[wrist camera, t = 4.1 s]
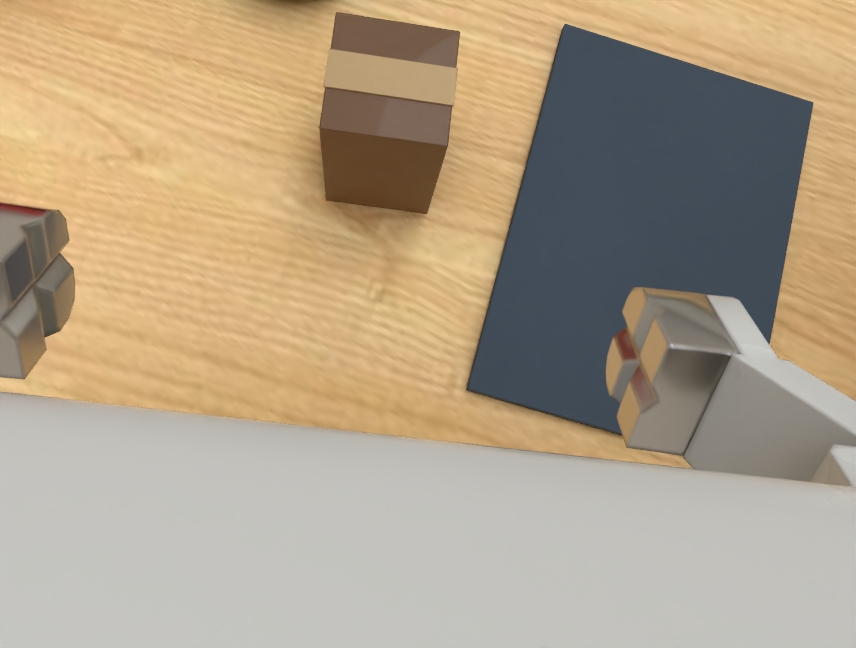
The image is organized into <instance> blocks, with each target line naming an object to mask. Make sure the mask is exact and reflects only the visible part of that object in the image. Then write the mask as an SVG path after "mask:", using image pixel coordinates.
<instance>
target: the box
mask: <svg viewBox="0 0 856 648" xmlns="http://www.w3.org/2000/svg"><path fill="white" fill-rule="evenodd" d="M459 37H460V32H459V31H454V30H447V29H441V28H435V27H428V26H422V25H415V24H409V23H403V22H396V21H390V20H383V19H377V18H371V17H364V16H358V15H352V14H345V13H339V12H336V16H335V23H334V30H333V37H332V44H331V49H329V53H328V60H327V67H326V74H325V80H324V87H325V92H324V99H323V106H322V113H321V120H320V127H319V128H320V139H321V149H322V160H323V171H324V182H325V193H326V200H330V201H338V202H345V203H352V204H360V205H367V206H375V207H382V208H389V209H397V210H404V211H411V212H419V213H427V212H428V208H429V205H430V202H431V199H432V195H433V192H434V189H435V186H436V182H437V179H438V176H439V173H440V169H441V166H442V163H443V160H444V156H445V153H446V150H447V147H448V139H449V130H450V121H451V111H452V106H454V98H455V89H456V79H457V70H458V68H456V65H457V55H458V46H459Z"/></svg>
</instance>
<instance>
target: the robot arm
mask: <svg viewBox="0 0 856 648" xmlns="http://www.w3.org/2000/svg"><path fill="white" fill-rule="evenodd" d="M68 242H69V235H68V229H67V223H66V218H65V217H64V216H63V215H62V213H61V212H60V211H59V210H55V209H49V208H42V207H35V206H29V205H22V204H15V203H9V202H2V201H0V377H4V378H16V379H25V378H26V377H27V375H28V374H29V373H30V371H31V370H32V369H33V367H34V366H35V365H36V363H37V362H38V360H39V359H40V358H41V356H42V355H43V354H44V352H45V351H46V344H45V337H47V336H50V335H52V334H54V333H56V332H59V331H60V330H61V329H62V328H63V326H64V325H65V323H66V322H67V320H68V319H69V316H70V313H71V309H72V306H73V303H74V298H75V278H74V270H73V267H72V266H71V265H70V264H69V263H68V262H67V260H66V259H65V258H64V257H63V256H62V255H61V253H60V252H61V251H62V249H63V248H64V247H65V246H66V244H67V243H68ZM622 313H623V315H624V318H625V320H626V323H627V326H626V327H625V328H623V329H622V330H621V331H620V332H618V333H617V334H616V335H614V336H613V339H612V342H611V345H610V348H609V352H608V355H607V363H606V372H605V373H606V384H607V388H608V391H609V395H610V397H612V398H613V399H614V400H615V401H616V402H617V403H619V404H620V408H619V410H618V413H617V416H616V417H617V420H618V423H619V426H620V429H621V432H622V435H623V438H624V441H625V444H626V447H627V448H633V449H640V450H647V451H655V452H662V453H669V454H676V455H683V456H684V457H683V458H684V459H685V460H686V461H687V462H688V463H689V464H690V465H691V466H692V467H693V469H690V468H681V467H672V466H663V465H654V464H645V463H636V462H627V461H618V460H609V459H600V458H591V457H582V456H573V455H564V454H555V453H546V452H537V451H528V450H519V449H510V448H501V447H492V446H483V445H474V444H465V443H456V442H447V441H438V440H429V439H420V438H411V437H402V436H394V435H385V434H376V433H367V432H358V431H349V430H340V429H331V428H322V427H313V426H304V425H295V424H286V423H277V422H268V421H259V420H250V419H241V418H232V417H223V416H214V415H205V414H196V413H187V412H178V411H169V410H160V409H152V408H143V407H134V406H125V405H116V404H107V403H98V402H89V401H80V400H71V399H62V398H53V397H44V396H35V395H26V394H17V393H8V392H0V648H856V401H855V400H853V399H851V398H850V397H848V396H846V395H845V394H843V393H841V392H840V391H838V390H837V389H835V388H833V387H832V386H830V385H828V384H827V383H825V382H823V381H822V380H820V379H818V378H817V377H815V376H814V375H812V374H810V373H809V372H807V371H805V370H804V369H802V368H800V367H799V366H797V365H795V364H794V363H792V362H791V361H788V360H781V359H778V357H777V356H776V354H775V353H774V351H773V350H772V348H771V347H770V345H769V344H768V342H767V341H766V339H765V338H764V336H763V335H762V333H761V332H760V330H759V329H758V327H757V326H756V324H755V323H754V321H753V320H752V318H751V317H750V315H749V314H748V312H747V311H746V309H745V308H744V306H743V305H742V303H741V302H740V300H738V299H736V298H734V297H728V296H716V295H705V294H701V293H692V292H683V291H673V290H664V289H655V288H645V287H635V288H633V289H632V291H631V292H630V294H629V295H628V297H627V300H626V302H625V305H624V308H623V311H622Z"/></svg>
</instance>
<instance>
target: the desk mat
mask: <svg viewBox="0 0 856 648" xmlns="http://www.w3.org/2000/svg"><path fill="white" fill-rule="evenodd" d="M812 107H813V102H810V101H807V100H804V99H801V98H797V97H794V96H791V95H788V94H785V93H782V92H779V91H775V90H772V89H769V88H766V87H763V86H760V85H756V84H753V83H750V82H747V81H744V80H741V79H738V78H734V77H731V76H728V75H725V74H722V73H719V72H715V71H712V70H709V69H706V68H703V67H700V66H697V65H693V64H690V63H687V62H684V61H681V60H678V59H674V58H671V57H668V56H665V55H662V54H659V53H656V52H652V51H649V50H646V49H643V48H640V47H637V46H634V45H630V44H627V43H624V42H621V41H618V40H615V39H611V38H608V37H605V36H602V35H599V34H596V33H593V32H589V31H586V30H583V29H580V28H577V27H574V26H570V25H567V24H565V25H564V27H563V29H562V32H561V36H560V40H559V43H558V47H557V51H556V55H555V58H554V62H553V66H552V70H551V73H550V77H549V81H548V85H547V88H546V92H545V96H544V100H543V104H542V107H541V111H540V115H539V119H538V122H537V126H536V130H535V134H534V137H533V141H532V145H531V149H530V152H529V156H528V160H527V164H526V167H525V171H524V175H523V179H522V182H521V186H520V190H519V194H518V197H517V201H516V205H515V209H514V212H513V216H512V220H511V224H510V227H509V231H508V235H507V239H506V242H505V246H504V250H503V254H502V257H501V261H500V265H499V269H498V272H497V276H496V280H495V284H494V287H493V291H492V295H491V299H490V302H489V306H488V310H487V314H486V317H485V321H484V325H483V329H482V332H481V336H480V340H479V344H478V347H477V351H476V355H475V359H474V362H473V366H472V370H471V374H470V377H469V381H468V385H467V390H468V391H471V392H475V393H478V394H482V395H485V396H489V397H492V398H495V399H499V400H502V401H506V402H509V403H513V404H516V405H520V406H523V407H526V408H530V409H533V410H537V411H540V412H544V413H547V414H551V415H554V416H557V417H561V418H564V419H568V420H571V421H575V422H578V423H582V424H585V425H588V426H592V427H595V428H599V429H602V430H606V431H609V432H613V433H616V434H619V435H622V432H621V429H620V426H619V423H618V420H617V417H616V416H617V413H618V410H619V408H620V404H619V403H617V402H616V401H615V400H614V399H613V398H612V397H610V395H609V391H608V388H607V384H606V373H605V372H606V363H607V355H608V352H609V348H610V345H611V342H612V339H613V336H614V335H616V334H617V333H618V332H620V331H621V330H622V329H623V328H625V327H626V326H627V323H626V320H625V318H624V315H623V313H622V311H623V308H624V305H625V302H626V300H627V297H628V295H629V294H630V292H631V291H632V289H633V288H635V287H645V288H655V289H664V290H673V291H683V292H692V293H701V294H705V295H716V296H728V297H734V298H736V299H738V300H740V302H741V303H742V305H743V306H744V308H745V309H746V311H747V312H748V314H749V315H750V317H751V318H752V320H753V321H754V323H755V324H756V326H757V327H758V329H759V330H760V332H761V333H762V335H763V336H764V338H765V339H766V341H767V342H768V344H770V339H771V333H772V328H773V322H774V317H775V311H776V306H777V300H778V295H779V289H780V284H781V278H782V273H783V267H784V262H785V256H786V251H787V245H788V240H789V234H790V229H791V223H792V218H793V212H794V207H795V201H796V196H797V190H798V185H799V179H800V174H801V168H802V163H803V157H804V152H805V146H806V140H807V135H808V129H809V124H810V118H811V113H812Z"/></svg>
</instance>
